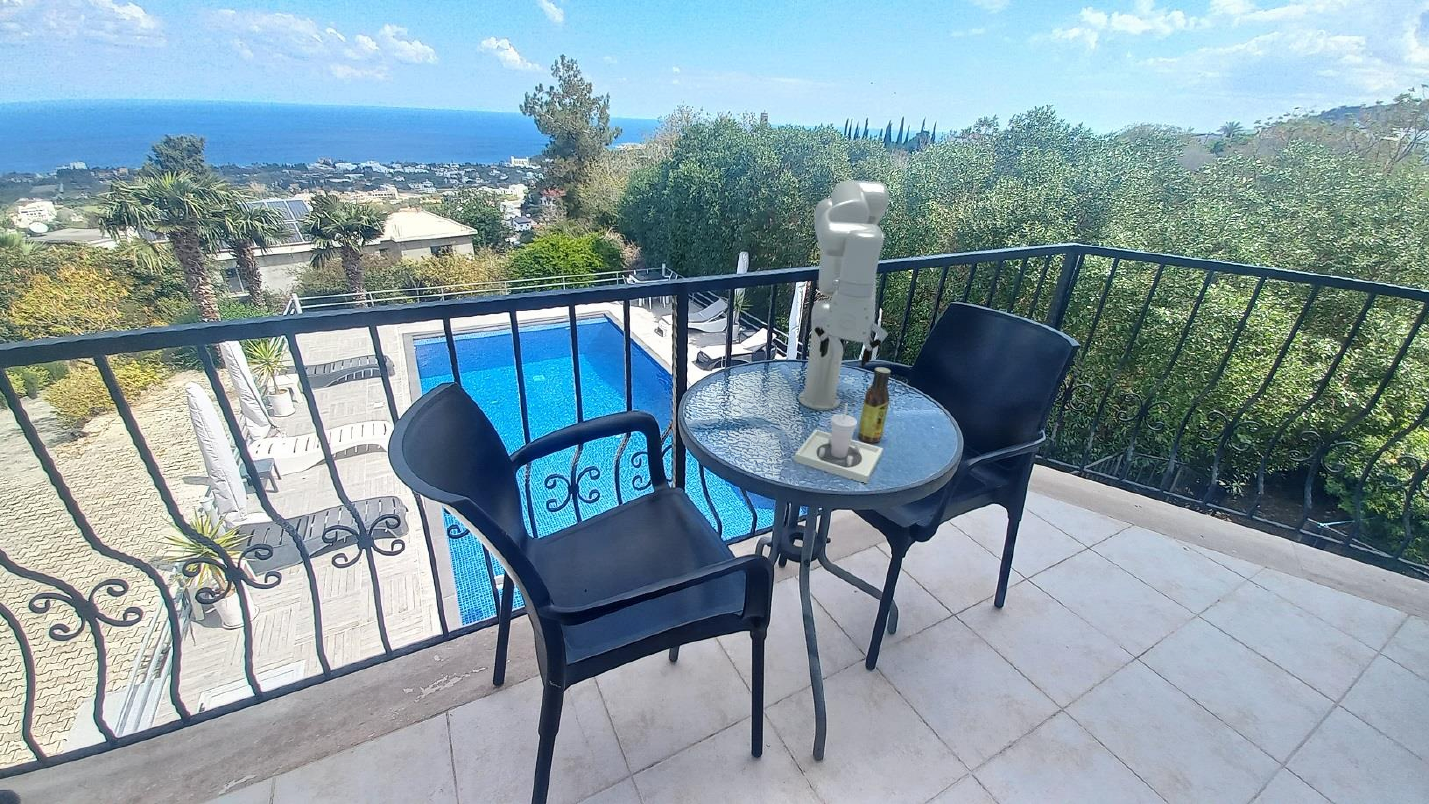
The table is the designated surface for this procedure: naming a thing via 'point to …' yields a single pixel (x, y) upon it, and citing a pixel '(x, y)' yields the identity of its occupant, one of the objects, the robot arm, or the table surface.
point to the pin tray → (852, 466)
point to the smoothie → (842, 433)
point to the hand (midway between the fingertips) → (843, 359)
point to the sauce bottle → (875, 407)
